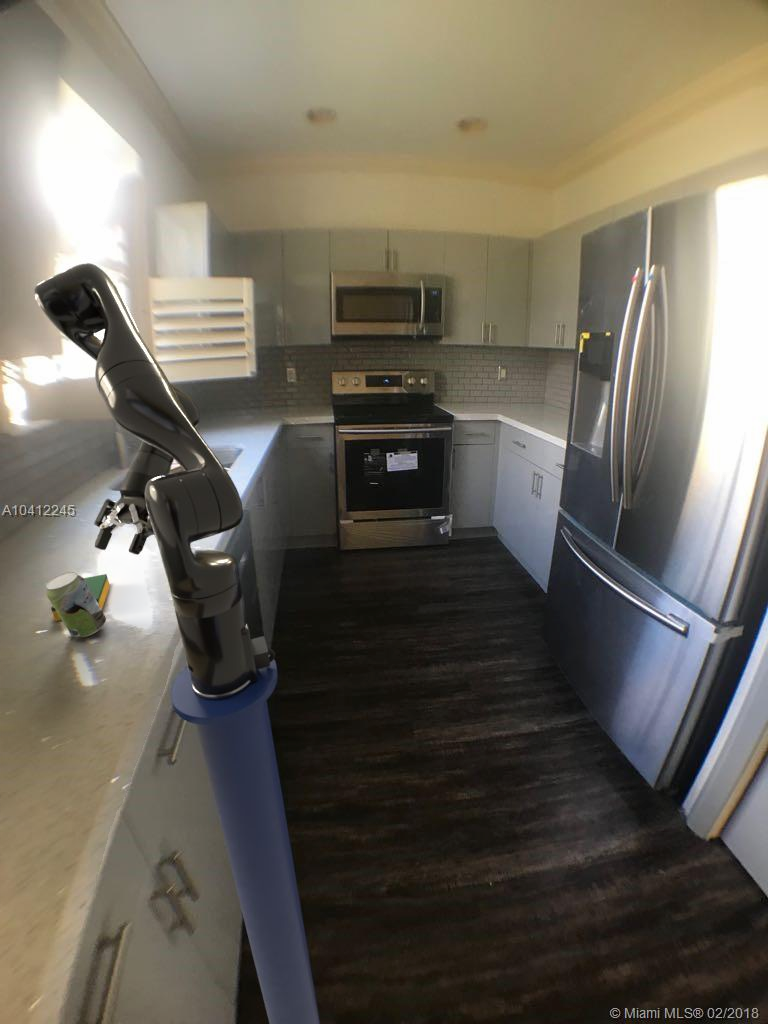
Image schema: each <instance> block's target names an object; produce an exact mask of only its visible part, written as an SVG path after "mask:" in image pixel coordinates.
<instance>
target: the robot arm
mask: <svg viewBox="0 0 768 1024" xmlns="http://www.w3.org/2000/svg"><path fill="white" fill-rule="evenodd" d="M33 293H34V296H35V300H36V302H37V303H38V306H39V308H40V309H41V310H42V312H43V313H44V315H45V316H46V317H47V318H48V320H49V321H50V322H51V323H52V324H53V326H54V327H55V328H56V329H57V330H58V331H59V332H60V333H61V334H62V335H64V336H65V337H66V338H67V339H68V340H70V342H72V343H73V344H75V345H76V346H77V347H78V348H79V349H81V350H82V351H83V352H84V353H85V354H87V355H88V356H89V357H90V358H92V359H93V360H94V361H95V362H96V364H95V373H94V378H95V379H94V380H95V384H96V388H97V390H98V392H99V394H100V396H101V398H102V400H103V402H104V405H105V406H106V408H107V410H108V412H109V413H110V416H111V417H112V419H113V420H114V422H115V423H116V424H118V426H120V428H122V429H123V430H125V431H126V432H127V433H129V434H131V435H132V436H133V437H136V438H137V439H138V440H141V444H140V446H139V448H138V451H137V453H136V455H135V456H134V458H133V459H132V462H131V463H130V465H129V468H128V470H127V472H126V475H125V477H124V479H123V481H122V484H121V485H120V488H119V493H120V498H119V499H118V500H117V501H113V500H112V499H110V498H107V499H105V500H104V502H103V504H102V506H101V507H100V510H99V512H98V514H97V516H96V518H95V520H94V522H93V524H94V526H96V527H98V528H99V532H98V535H97V536H96V539H95V542H94V548H96V549H98V550H101V551H105V550H106V549H107V547H108V545H109V543H110V541H111V539H112V536H113V533H114V532H115V531H116V530H117V529H118V528H121V527H123V526H124V525H134V526H135V530H136V533H134V536H133V538H132V540H131V542H130V545H129V547H128V552H129V553H131V554H133V555H140V553H142V551H143V549H144V546H145V544H146V541H147V539H148V538H150V537H151V536H155V537H154V538H155V540H156V544H157V546H158V550H159V553H160V557H161V561H162V565H163V569H164V572H165V573H164V574H165V576H166V579H167V582H168V583H167V584H168V586H169V591H170V596H171V599H172V604H173V608H174V612H175V613H174V614H175V616H176V621H177V625H178V629H179V634H180V639H181V641H182V647H183V650H184V654H185V658H186V659H185V660H186V661H185V662H186V666H188V667H189V669H188V670H189V671H190V676H191V681H192V687H193V691H194V693H195V694H196V695H197V696H198V697H200V698H202V699H205V700H223V699H227V698H230V697H233V696H235V695H237V694H239V693H241V692H242V691H244V690H245V689H246V688H248V687H249V686H250V685H251V684H254V683H257V682H258V678H257V672H256V670H257V669H261V668H265V667H268V666H270V662H272V661H273V660H275V657H276V652H275V651H274V650H273V649H271V648H268V646H267V642H266V638H265V636H264V635H263V636H259V637H255V638H251V631H250V627H249V622H248V617H247V611H246V606H245V601H244V594H243V589H242V583H241V577H240V570H239V565H238V561H237V559H236V558H235V556H234V555H232V554H231V553H229V552H227V551H223V550H218V549H196V548H191V546H192V545H191V544H192V543H193V542H197V541H200V540H203V539H206V538H209V537H213V536H216V535H219V534H222V533H225V532H228V531H230V530H233V529H234V528H236V527H238V526H239V525H240V524H241V522H242V520H243V516H244V509H243V503H242V500H241V499H242V498H241V496H240V493H239V491H238V488H237V487H236V486H237V485H236V484H235V483H234V481H233V479H232V477H231V476H230V474H229V473H228V471H227V470H226V468H225V467H224V465H223V464H222V463H221V461H220V460H219V458H218V457H217V456H216V455H215V453H214V452H213V450H212V449H211V447H210V446H209V445H208V444H207V442H206V440H204V438H203V437H202V434H200V433H199V430H197V428H196V427H197V426H198V424H199V423H200V420H201V419H200V418H201V414H200V409H199V408H198V405H197V404H196V402H195V401H194V400H193V399H192V398H191V397H190V396H189V395H188V394H186V393H185V392H184V391H182V390H181V389H180V388H178V386H176V385H174V384H172V383H171V381H169V379H168V377H167V375H166V374H165V372H164V371H163V369H162V368H161V366H160V363H158V361H157V359H156V357H155V356H154V355H153V353H152V352H151V350H150V348H149V347H148V345H147V344H146V342H145V341H144V339H143V337H142V335H141V333H140V331H139V330H138V328H137V325H136V323H135V321H134V319H133V317H132V315H131V313H130V311H129V308H128V306H127V304H126V302H125V300H124V299H123V297H122V294H121V292H120V291H119V289H118V288H117V286H116V284H115V283H114V281H113V280H112V278H110V276H109V275H108V274H107V273H106V272H105V271H104V269H102V268H101V267H99V266H97V265H96V264H94V263H91V262H86V263H81V264H80V263H79V264H76V265H75V266H72V267H70V268H68V269H65V270H64V271H61V272H60V273H57V274H55V275H53V276H51V277H49V278H47V279H45V280H43V281H41V282H39V283H38V284H37V285H36V286H34V290H33ZM102 331H104V333H103V336H102V337H103V338H102V337H99V336H98V335H96V334H99V333H100V332H102ZM174 460H175V461H176V462H177V463H178V464H179V465H180V466H181V467H182V468H183V469H184V470H185V471H182V472H177V473H173V474H170V469H171V466H172V464H173V461H174ZM269 655H270V657H269Z"/></svg>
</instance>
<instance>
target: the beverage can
mask: <svg viewBox="0 0 768 1024" xmlns="http://www.w3.org/2000/svg"><path fill="white" fill-rule="evenodd" d="M84 578H85V577H83V576H82V575H79V574H78V573H77V572H74V571H70V572H65V573H62V574H60V575H56V576H55V577H54V578H51V580H49V581H48V582H47V583H46V586H45V588H46V591H45V595H46V597H47V599H48V601H49V602H50V604H51V605H53V607H54V608H55V610H56V612H57V613H58V615H59V616H60V618H61V620H60V621H61V622H62V623H63V624H64V626H65V628H66V629H67V631H68V633H69V634H70V635H71V636H72V638H73V637H74V638H87V637H89V636H92V635H94V634H95V633H97V632H99V631H100V630H101V629H102V627H103V626H104V625H105V623H106V620H107V617H106V615H105V613H104V612H103V609H102V610H101V608H100V606H99V604H98V603H97V601H96V599H95V597H94V596H93V594H92V592H91V590H90V588H89V587H88V585H87V583H86V581H85V580H84Z"/></svg>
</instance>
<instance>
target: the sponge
mask: <svg viewBox="0 0 768 1024" xmlns="http://www.w3.org/2000/svg"><path fill="white" fill-rule="evenodd" d="M83 578H84V580H85V581H86V583H87V585H88V587H89V588H90V590H91V592H92V594H93V596H94V597H95V599H96V601H97V603H98V604H99V606H100V608H101V610H102V611H103V608H104V607H105V602H106V599H107V596H108V593H109V591H110V586H111V584H110V581H109V577H108V575H107V573H104V574H99V575H93V576H89V577H83ZM51 605H52V604H51ZM50 609H51V613H52V615H53V618H54V621H55V622H59V621H62V620H61V618H60V616H59V615H58V613H57V612H56V610H55V608H54V607H53V605H52V606H51V607H50Z"/></svg>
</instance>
